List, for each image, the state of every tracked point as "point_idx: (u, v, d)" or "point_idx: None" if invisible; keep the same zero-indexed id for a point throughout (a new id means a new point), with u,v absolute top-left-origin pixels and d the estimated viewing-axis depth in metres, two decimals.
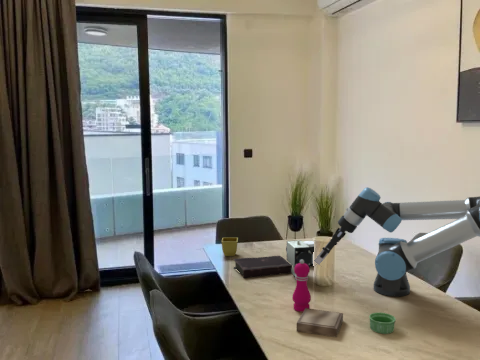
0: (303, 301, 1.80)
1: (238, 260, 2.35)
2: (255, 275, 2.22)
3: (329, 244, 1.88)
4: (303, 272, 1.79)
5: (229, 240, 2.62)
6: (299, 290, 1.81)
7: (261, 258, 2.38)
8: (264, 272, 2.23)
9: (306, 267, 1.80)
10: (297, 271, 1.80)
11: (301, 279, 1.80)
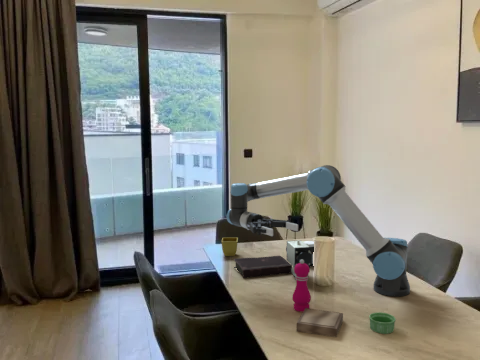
0: (303, 301, 1.80)
1: (238, 260, 2.35)
2: (255, 275, 2.22)
3: (251, 230, 1.91)
4: (303, 272, 1.79)
5: (229, 240, 2.62)
6: (299, 290, 1.81)
7: (261, 258, 2.38)
8: (264, 272, 2.23)
9: (306, 267, 1.80)
10: (297, 271, 1.80)
11: (301, 279, 1.80)
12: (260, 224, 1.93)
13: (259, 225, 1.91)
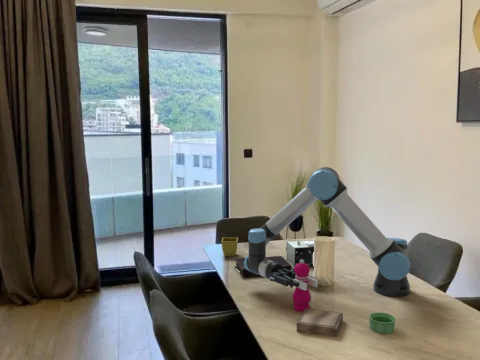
0: (303, 301, 1.80)
1: (239, 260, 2.35)
2: (254, 275, 2.22)
3: (281, 283, 1.83)
4: (303, 272, 1.79)
5: (229, 240, 2.62)
6: (299, 290, 1.81)
7: None
8: None
9: (306, 267, 1.80)
10: (297, 271, 1.80)
11: (301, 279, 1.80)
12: (287, 275, 1.86)
13: (288, 277, 1.84)
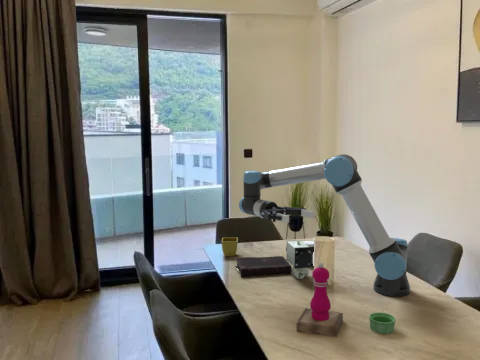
0: (322, 309, 1.64)
1: (239, 259, 2.36)
2: (253, 274, 2.23)
3: (266, 217, 1.86)
4: (322, 278, 1.63)
5: (229, 240, 2.62)
6: (318, 297, 1.65)
7: (263, 258, 2.38)
8: (262, 272, 2.23)
9: (326, 272, 1.64)
10: (316, 276, 1.64)
11: (320, 285, 1.64)
12: (275, 211, 1.88)
13: (274, 212, 1.86)
